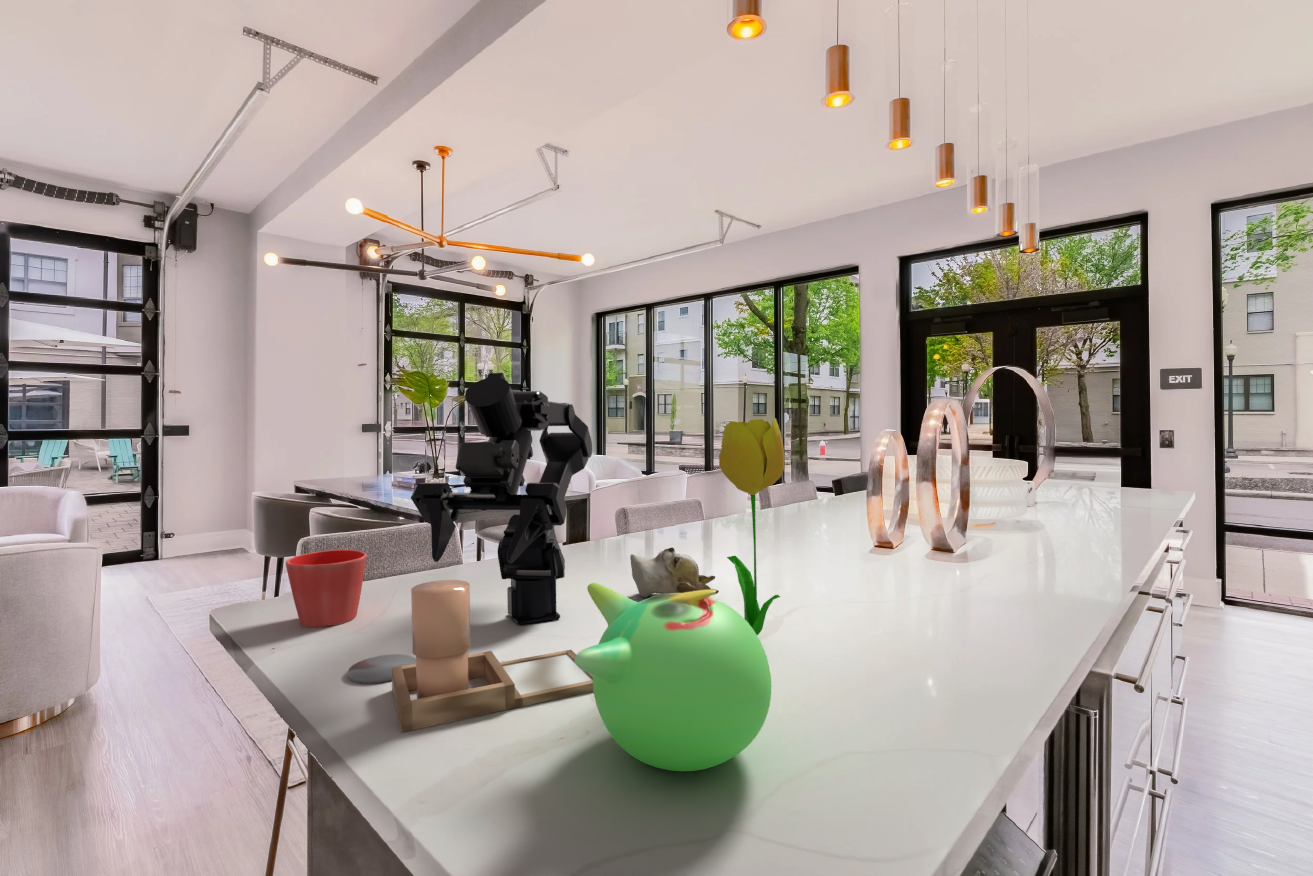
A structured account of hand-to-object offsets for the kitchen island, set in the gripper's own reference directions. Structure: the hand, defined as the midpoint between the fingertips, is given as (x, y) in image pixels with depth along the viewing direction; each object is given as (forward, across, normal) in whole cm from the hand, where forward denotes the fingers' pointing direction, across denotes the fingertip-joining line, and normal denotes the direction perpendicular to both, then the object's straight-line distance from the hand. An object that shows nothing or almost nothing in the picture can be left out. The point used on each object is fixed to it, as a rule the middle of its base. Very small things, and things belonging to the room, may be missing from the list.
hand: (471, 560), depth 75 cm
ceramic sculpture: (-15, +20, +35) cm, 43 cm away
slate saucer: (+10, -11, +9) cm, 18 cm away
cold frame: (+12, +4, +7) cm, 15 cm away
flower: (0, +33, +20) cm, 39 cm away
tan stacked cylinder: (+15, 0, +4) cm, 16 cm away
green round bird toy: (+20, +25, -1) cm, 33 cm away
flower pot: (-3, -31, +22) cm, 38 cm away
